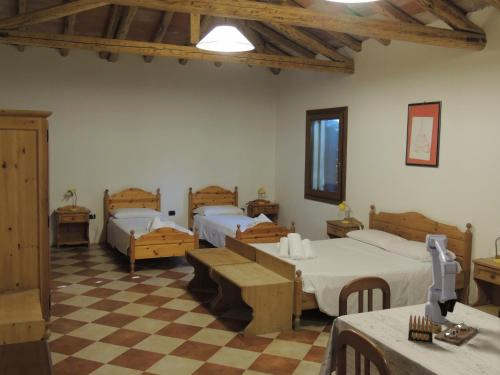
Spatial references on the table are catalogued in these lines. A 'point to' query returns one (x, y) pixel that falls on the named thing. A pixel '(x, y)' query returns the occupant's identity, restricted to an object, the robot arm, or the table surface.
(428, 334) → the ammunition clip
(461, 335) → the gear board
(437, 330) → the wooden gear
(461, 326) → the mounted gears
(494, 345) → the table surface
